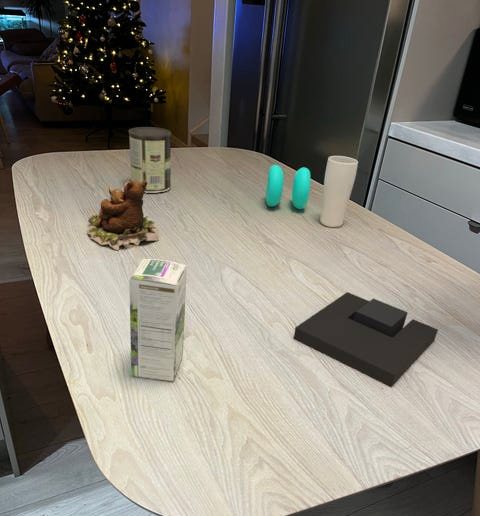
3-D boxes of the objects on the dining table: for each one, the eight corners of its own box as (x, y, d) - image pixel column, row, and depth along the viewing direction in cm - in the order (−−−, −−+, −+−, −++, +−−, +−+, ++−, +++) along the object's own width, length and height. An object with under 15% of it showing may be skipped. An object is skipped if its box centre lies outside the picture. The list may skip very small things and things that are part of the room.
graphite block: (369, 314, 83) (373, 298, 81) (402, 329, 79) (407, 312, 78) (351, 328, 78) (355, 311, 77) (386, 344, 75) (391, 326, 74)
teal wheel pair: (306, 215, 121) (312, 174, 116) (265, 211, 121) (270, 170, 115) (303, 201, 129) (309, 163, 124) (265, 198, 129) (269, 159, 124)
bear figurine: (136, 217, 111) (134, 161, 104) (169, 241, 101) (169, 182, 95) (76, 226, 104) (70, 167, 97) (105, 253, 94) (101, 190, 87)
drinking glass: (339, 231, 113) (352, 165, 105) (312, 224, 116) (323, 159, 108) (349, 223, 119) (362, 159, 111) (322, 216, 121) (334, 153, 113)
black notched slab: (345, 301, 86) (347, 291, 85) (434, 340, 78) (438, 329, 76) (293, 338, 75) (295, 327, 74) (391, 387, 67) (395, 375, 66)
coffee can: (153, 179, 135) (152, 125, 128) (179, 189, 130) (179, 133, 122) (122, 185, 128) (119, 128, 121) (148, 196, 123) (147, 137, 115)
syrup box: (142, 351, 69) (140, 256, 61) (184, 357, 69) (187, 262, 61) (130, 377, 64) (126, 277, 56) (175, 383, 64) (177, 283, 56)
